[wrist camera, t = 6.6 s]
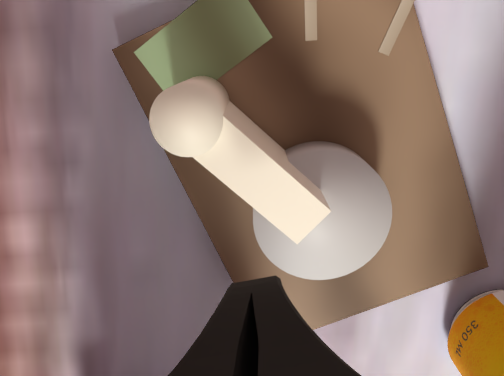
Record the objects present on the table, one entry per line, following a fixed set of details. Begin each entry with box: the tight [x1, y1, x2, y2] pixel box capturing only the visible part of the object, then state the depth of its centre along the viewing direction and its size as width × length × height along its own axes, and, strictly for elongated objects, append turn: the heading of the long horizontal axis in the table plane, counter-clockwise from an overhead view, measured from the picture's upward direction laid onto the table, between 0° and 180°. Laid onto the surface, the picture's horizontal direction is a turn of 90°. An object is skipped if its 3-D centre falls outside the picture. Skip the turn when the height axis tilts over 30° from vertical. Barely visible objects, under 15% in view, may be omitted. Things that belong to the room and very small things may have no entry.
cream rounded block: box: [149, 76, 392, 280], centre depth 16 cm, size 11×6×5 cm, turn 48°
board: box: [112, 0, 488, 330], centre depth 19 cm, size 13×18×1 cm
